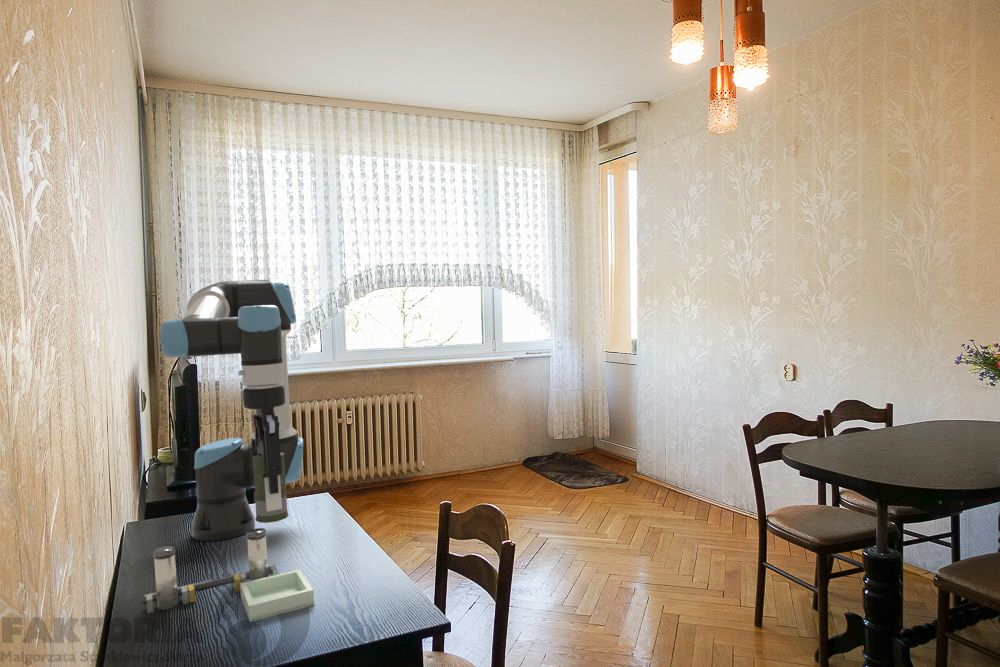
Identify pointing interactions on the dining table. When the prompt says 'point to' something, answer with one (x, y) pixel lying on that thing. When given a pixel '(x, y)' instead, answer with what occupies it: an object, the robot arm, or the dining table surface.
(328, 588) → the dining table surface
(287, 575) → the tray
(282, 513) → the grenade
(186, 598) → the fuse rail
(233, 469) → the robot arm
